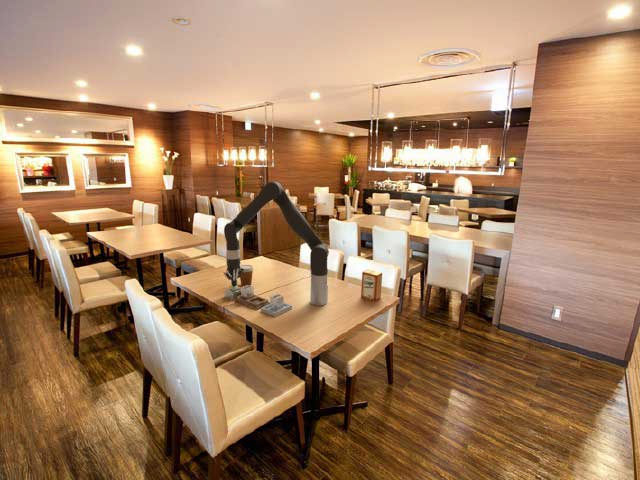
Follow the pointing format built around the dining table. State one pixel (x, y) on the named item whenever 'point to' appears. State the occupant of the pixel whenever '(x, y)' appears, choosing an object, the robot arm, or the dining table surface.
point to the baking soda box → (371, 284)
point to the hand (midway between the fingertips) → (234, 285)
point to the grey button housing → (232, 293)
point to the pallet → (253, 302)
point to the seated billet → (247, 292)
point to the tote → (271, 312)
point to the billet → (276, 302)
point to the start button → (234, 288)
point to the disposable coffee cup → (246, 275)
